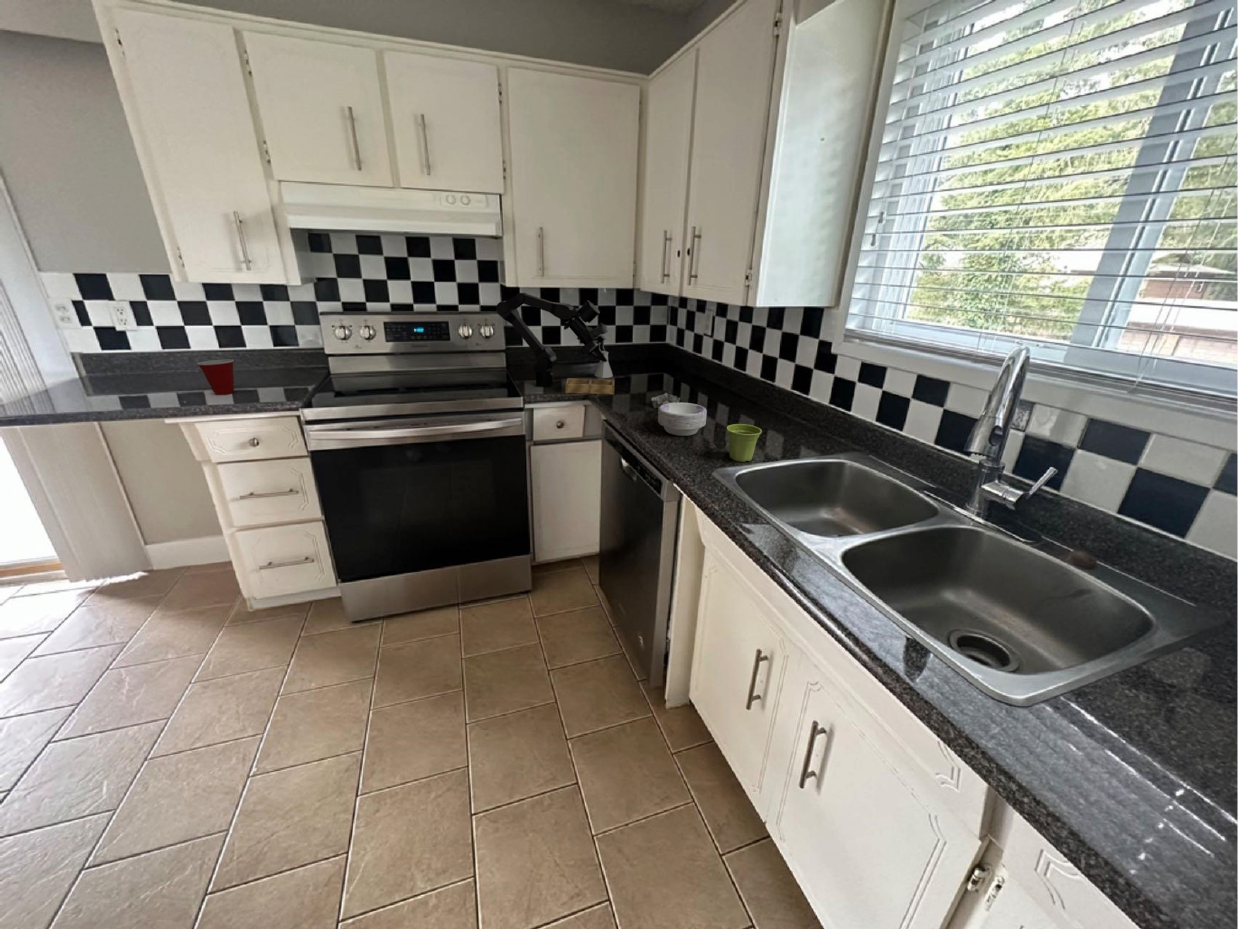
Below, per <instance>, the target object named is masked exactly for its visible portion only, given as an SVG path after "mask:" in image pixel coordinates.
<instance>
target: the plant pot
mask: <svg viewBox="0 0 1238 929" xmlns="http://www.w3.org/2000/svg"><path fill="white" fill-rule="evenodd" d="M726 430H727V434H728V440H729V441H728V444H729V445H728V447H729V459H732V460H733V461H735V462H740V463H744V462H750V461H752V460H753V456H754V452H755V450H756V445H757V442H758V439H759V437H760V436H761V434H762V432H763V430H762V429H761V428H760V427H758V426H755V425H751V424H745V423H735V424H734V423H733V424H729V425H727V427H726Z"/></svg>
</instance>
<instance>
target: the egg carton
mask: <svg viewBox="0 0 1238 929" xmlns="http://www.w3.org/2000/svg"><path fill="white" fill-rule="evenodd" d="M680 400H681V397H678V396H677V395H673V394H669V393H667V392H664V393H663V394H661V395H660V394H659V395H657V396H653V397H651V401H652V407H653V408H654V409H656V408H657V409H659V407H660V406H661V405H663V404H667V403H679V402H680Z"/></svg>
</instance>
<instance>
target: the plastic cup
mask: <svg viewBox="0 0 1238 929" xmlns="http://www.w3.org/2000/svg"><path fill="white" fill-rule="evenodd" d="M234 362H235V359H233V358H228V359H227V358H226V359H225V358H224V359H223V358H222V359H212V360H205V361H199V362H196V365H198V367H199V368H200V369H201V371H202V373H203V375H204V377H205V379H206V380H207V382H208V385H209V386H210V388H211V390H212V392H213V393H214V395H216V396H224V395H230V394H233V393H235V377H234Z"/></svg>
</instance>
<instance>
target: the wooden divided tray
mask: <svg viewBox="0 0 1238 929" xmlns="http://www.w3.org/2000/svg"><path fill="white" fill-rule="evenodd" d="M564 388H565V394H590V395H592V394H593V395H615V379H603V378H602V379H601V378H600V379H599V378H570V377H569V378H567V379H566V381H565V384H564Z"/></svg>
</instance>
